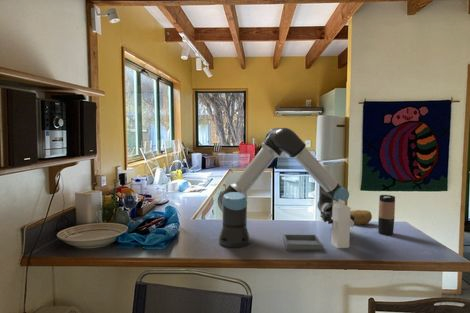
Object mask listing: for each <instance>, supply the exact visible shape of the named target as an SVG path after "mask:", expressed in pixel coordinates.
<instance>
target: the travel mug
mask: <svg viewBox="0 0 470 313" xmlns="http://www.w3.org/2000/svg"><path fill="white" fill-rule="evenodd" d="M378 202H379V203H378V223H377V224H378V228H377V229H378V234H380V235H383V236H393V235H394V228H395V218H396V217H395V215H396V214H395V212H396V196H394V195H391V194H380V195H379V201H378Z"/></svg>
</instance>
